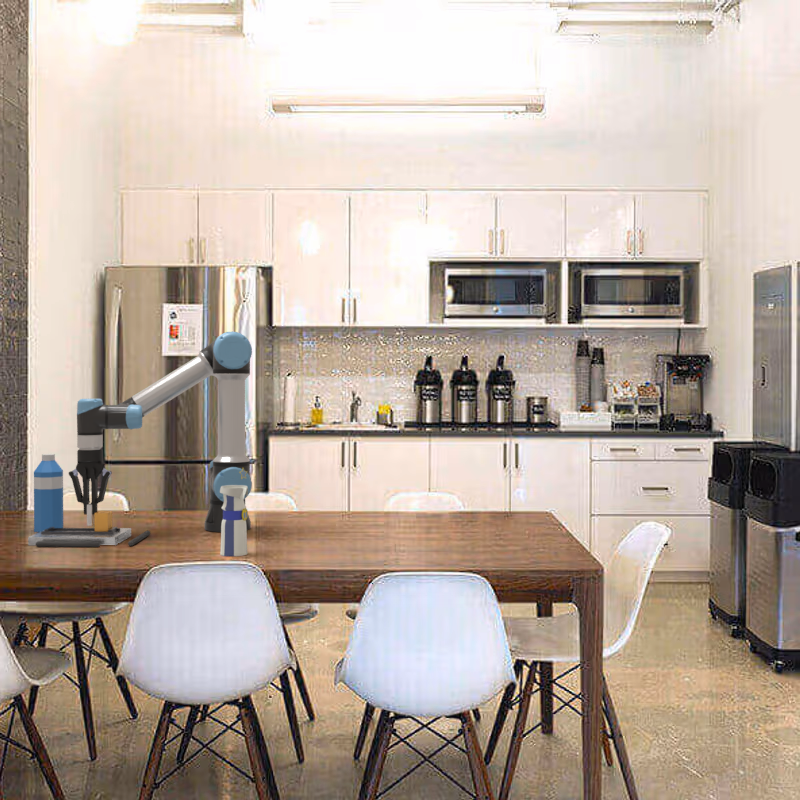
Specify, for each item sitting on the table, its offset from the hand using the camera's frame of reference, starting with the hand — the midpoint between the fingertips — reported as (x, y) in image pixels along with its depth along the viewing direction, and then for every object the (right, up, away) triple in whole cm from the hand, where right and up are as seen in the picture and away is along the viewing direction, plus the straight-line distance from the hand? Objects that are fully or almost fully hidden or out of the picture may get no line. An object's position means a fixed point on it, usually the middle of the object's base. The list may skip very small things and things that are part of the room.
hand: (90, 525), depth 311 cm
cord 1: (-3, -5, -11) cm, 13 cm away
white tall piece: (+48, -6, -22) cm, 53 cm away
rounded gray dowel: (+15, -5, 0) cm, 16 cm away
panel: (-3, -5, 0) cm, 6 cm away
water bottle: (-20, -4, +20) cm, 29 cm away
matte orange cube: (+4, -2, 0) cm, 4 cm away
